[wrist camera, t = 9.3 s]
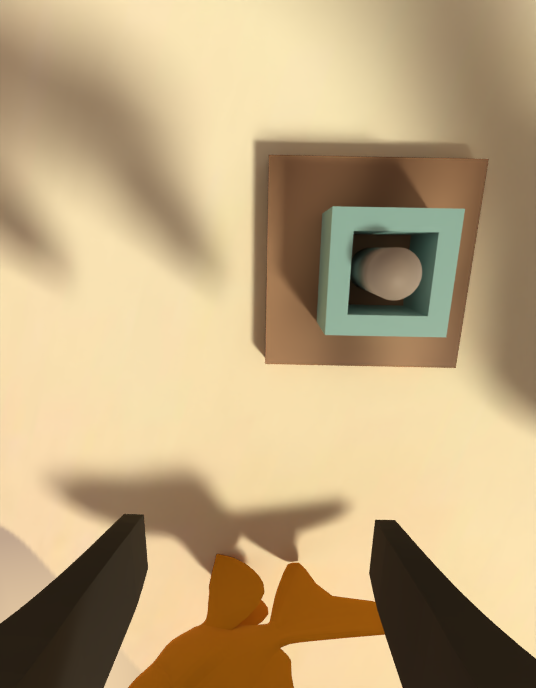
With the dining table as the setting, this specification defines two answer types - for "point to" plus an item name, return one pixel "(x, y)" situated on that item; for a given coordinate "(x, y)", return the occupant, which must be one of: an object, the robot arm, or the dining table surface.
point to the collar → (426, 243)
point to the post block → (361, 253)
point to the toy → (255, 631)
